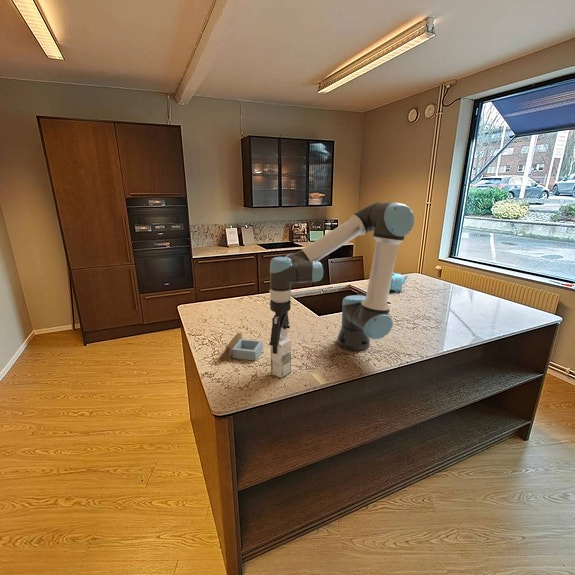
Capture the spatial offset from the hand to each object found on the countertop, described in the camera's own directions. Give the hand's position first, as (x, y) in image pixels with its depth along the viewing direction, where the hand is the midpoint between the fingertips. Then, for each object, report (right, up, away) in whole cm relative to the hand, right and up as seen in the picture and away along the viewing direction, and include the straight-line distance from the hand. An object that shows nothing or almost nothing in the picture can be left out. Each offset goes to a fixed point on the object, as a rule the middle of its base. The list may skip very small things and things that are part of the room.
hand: (280, 351), depth 124 cm
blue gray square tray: (-15, -4, +18) cm, 24 cm away
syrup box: (0, -9, +3) cm, 10 cm away
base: (-22, -4, +20) cm, 30 cm away
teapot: (+80, +23, +105) cm, 134 cm away
